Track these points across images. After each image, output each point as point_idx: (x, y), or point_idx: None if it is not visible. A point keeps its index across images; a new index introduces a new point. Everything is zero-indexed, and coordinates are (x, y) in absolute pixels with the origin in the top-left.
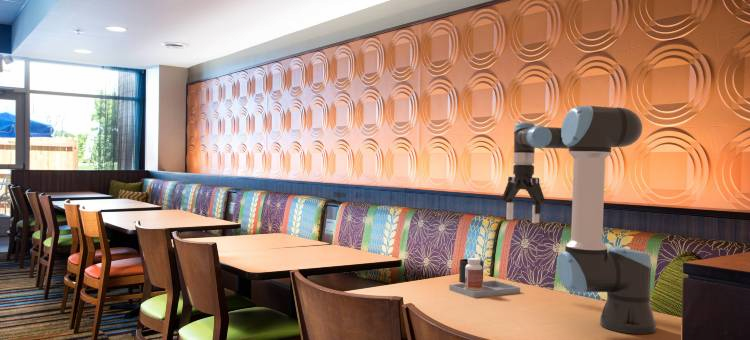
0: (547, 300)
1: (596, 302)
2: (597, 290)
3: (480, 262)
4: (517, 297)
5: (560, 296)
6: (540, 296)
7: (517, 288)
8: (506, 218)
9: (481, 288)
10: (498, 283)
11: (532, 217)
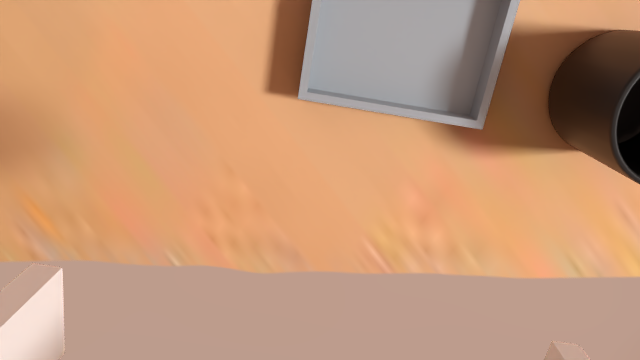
0: (149, 90)
1: (37, 230)
2: None
3: (613, 118)
4: (259, 20)
5: (178, 205)
6: (220, 133)
7: (301, 79)
8: (584, 354)
9: None
10: (447, 114)
11: (7, 312)
